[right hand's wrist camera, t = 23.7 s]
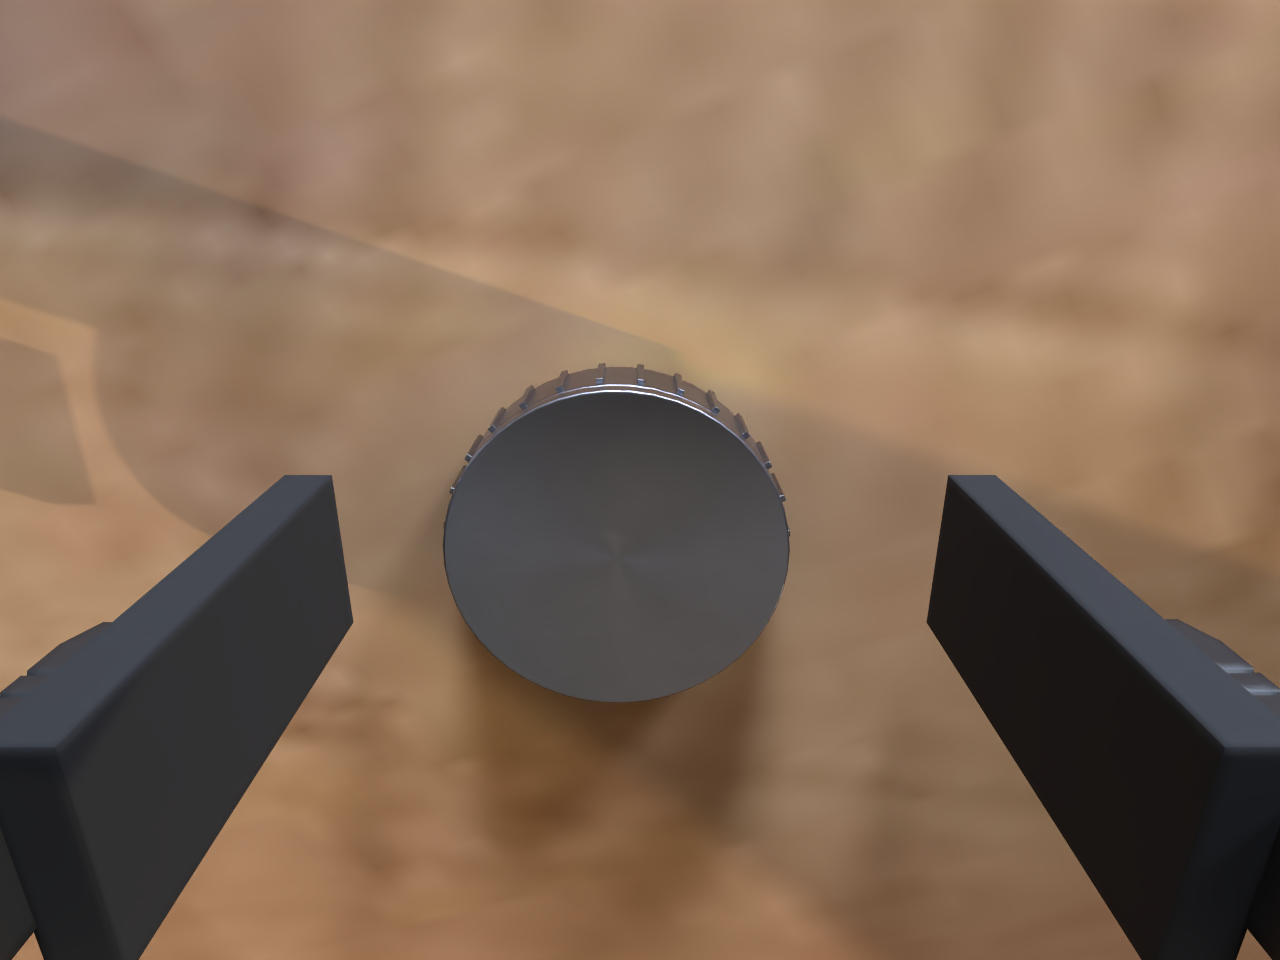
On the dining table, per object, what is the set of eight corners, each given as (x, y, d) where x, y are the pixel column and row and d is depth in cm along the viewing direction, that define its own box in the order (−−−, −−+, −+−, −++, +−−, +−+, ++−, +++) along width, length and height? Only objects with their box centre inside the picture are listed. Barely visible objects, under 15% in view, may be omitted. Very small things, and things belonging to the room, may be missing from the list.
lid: (410, 580, 15) (385, 626, 13) (540, 302, 13) (527, 318, 12) (683, 699, 16) (687, 753, 14) (838, 454, 14) (862, 487, 13)
